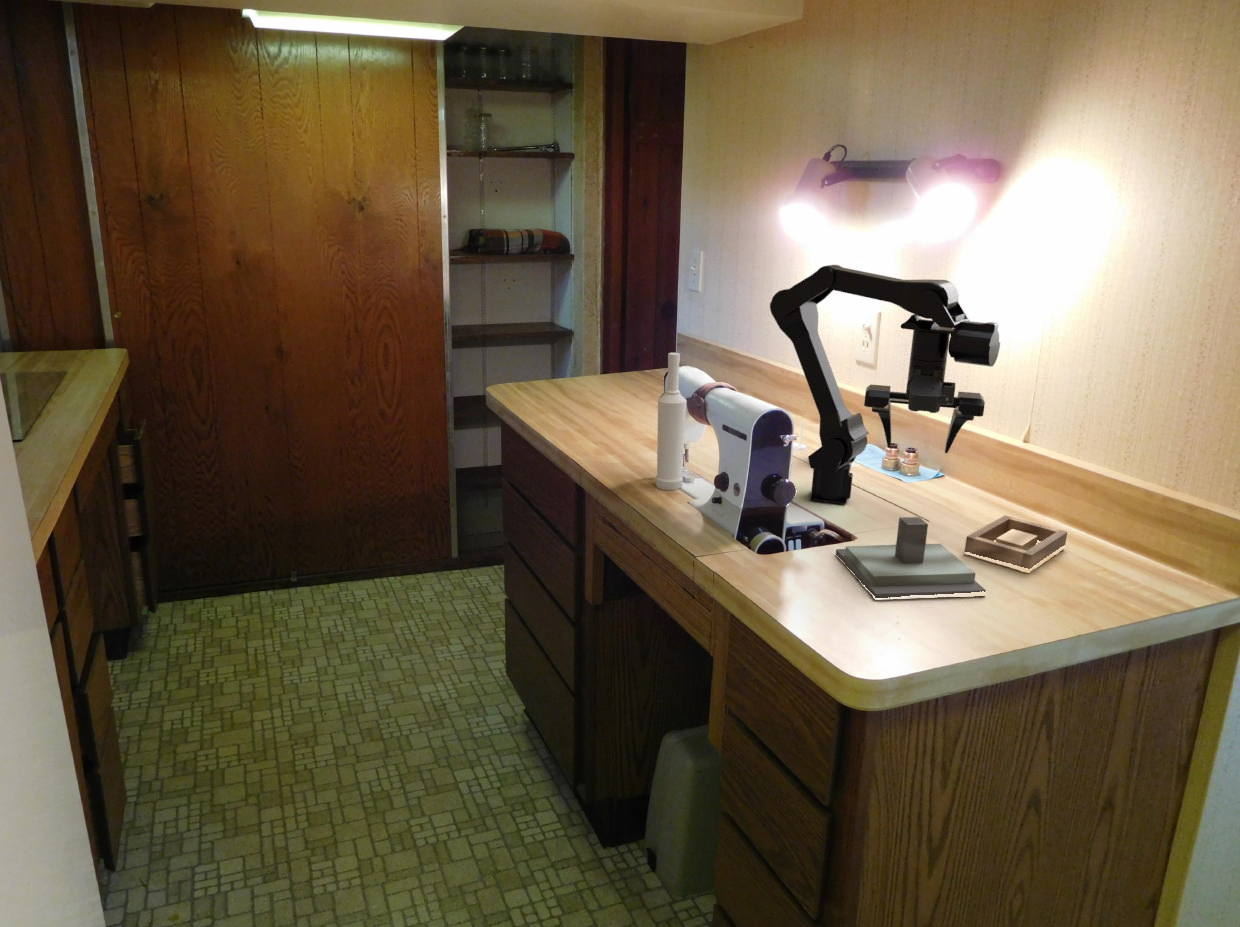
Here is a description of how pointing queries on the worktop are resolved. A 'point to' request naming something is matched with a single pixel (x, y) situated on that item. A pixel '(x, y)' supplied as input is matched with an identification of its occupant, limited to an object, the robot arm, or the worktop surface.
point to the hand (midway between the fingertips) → (917, 449)
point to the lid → (909, 559)
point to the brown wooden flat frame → (1015, 541)
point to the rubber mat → (909, 589)
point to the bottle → (671, 430)
